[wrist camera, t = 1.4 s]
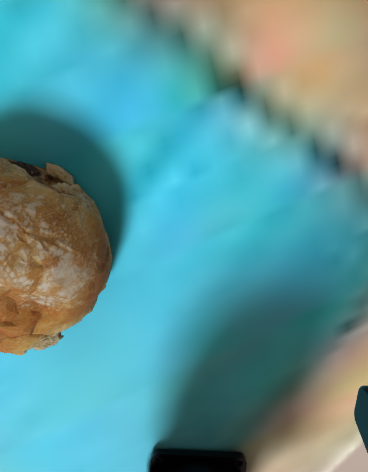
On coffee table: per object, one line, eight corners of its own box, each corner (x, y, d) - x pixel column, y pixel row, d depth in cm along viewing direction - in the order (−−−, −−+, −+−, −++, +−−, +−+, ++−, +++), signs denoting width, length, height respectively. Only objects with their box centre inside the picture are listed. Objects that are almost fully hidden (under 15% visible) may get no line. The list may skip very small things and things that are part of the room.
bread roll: (131, 201, 23) (123, 152, 15) (96, 360, 21) (66, 398, 13) (-19, 170, 22) (-110, 102, 14) (-70, 331, 20) (-207, 353, 12)
